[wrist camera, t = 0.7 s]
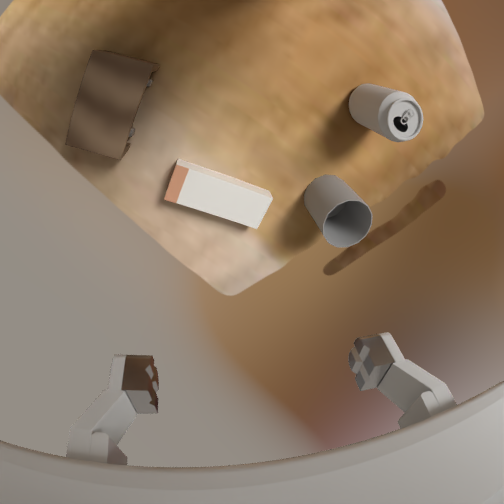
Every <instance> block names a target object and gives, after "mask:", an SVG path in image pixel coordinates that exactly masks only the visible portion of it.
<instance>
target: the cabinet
mask: <svg viewBox="0 0 504 504" xmlns="http://www.w3.org/2000/svg"><path fill="white" fill-rule="evenodd" d="M158 67H159V65H158V64H155V63H151V62H148V61H144V60H141V59H137V58H133V57H129V56H125V55H121V54H117V53H113V52H108V51H102V50H93V51H92V54H91V56H90V59H89V62H88V65H87V68H86V71H85V73H84V77H83V80H82V83H81V86H80V89H79V93H78V96H77V99H76V103H75V107H74V110H73V114H72V118H71V122H70V126H69V130H68V135H67V139H66V144H65V145H69V146H72V147H76V148H80V149H83V150H87V151H90V152H94V153H97V154H101V155H104V156H108V157H111V158H115V159H118V160H121V159H122V157H123V156H124V155H125V154H126V152H127V151H128V150H129V147H130V143H127V140H128V137H129V136H130V137H132V136H133V134H134V131H135V129H134V128H131V127H132V124H133V121H134V118H135V115H136V113H137V110H138V107H139V104H140V101H141V99H142V96H143V93H144V91H145V88H146V86H147V87H150V86H151V84H152V82H153V80H151V79H149V78H150V75H151V73H152V72H153V71H157V70H158Z"/></svg>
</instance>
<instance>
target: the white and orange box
mask: <svg viewBox="0 0 504 504" xmlns="http://www.w3.org/2000/svg"><path fill="white" fill-rule="evenodd" d="M164 200H167V201H170V202H174V203H178V204H181V205H184V206H187V207H191V208H194V209H197V210H200V211H203V212H206V213H209V214H212V215H216V216H219V217H222V218H225V219H228V220H231V221H234V222H237V223H240V224H243V225H246V226H249V227H252V228H255V229H257V228H258V226H259V224H260V222H261V220H262V219H263V217H264V215H265V213H266V211H267V209H268V207H269V205H270V203H271V201H272V200H273V197H272V195H271V193H270V191H268V190H265V189H263V188H260V187H258V186H255V185H252V184H250V183H247V182H244V181H241V180H239V179H236V178H233V177H230V176H228V175H225V174H222V173H219V172H216V171H213V170H211V169H208V168H205V167H202V166H199V165H196V164H193V163H190V162H187V161H184V160H181V159H178V160H177V163H176V165H175V168H174V171H173V173H172V176H171V179H170V182H169V184H168V187H167V190H166V194H165V198H164Z"/></svg>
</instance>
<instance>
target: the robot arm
mask: <svg viewBox="0 0 504 504" xmlns="http://www.w3.org/2000/svg"><path fill="white" fill-rule="evenodd" d="M354 345H355V347H354V348H353V349H352V350H351V351H350V353H349V365H350V368H351V370H352V371H353V372H354V373H356V377H355V380H356V382H357V385H358V387H359V389H360V391H363V390H367V389H371V388H376V387H377V388H378V390H379V391H381V392H382V393H383V394H384V395H385V396H386V397H388V398H389V399H390V400H391V401H392V402H393V403H394V404H396V405H397V406H398V407H399V408H400V409H401V410H403V411H404V412H405V413H404V414H403V416H402V417H401V418H400V419H399V421H398V424H399V426H400V429H398V430H395V431H392V432H390V433H387V434H384V435H381V436H377V437H374V438H371V439H368V440H365V441H361V442H357V443H354V444H350V445H346V446H343V447H339V448H335V449H330V450H326V451H322V452H317V453H312V454H308V455H302V456H298V457H292V458H286V459H280V460H273V461H266V462H258V463H250V464H240V465H228V466H213V467H182V468H181V467H175V468H174V467H172V468H171V467H143V466H128V465H127V456H126V455H125V454H124V453H123V452H122V451H121V450H120V449H119V448H118V446H117V444H118V443H119V441H120V440H121V438H122V437H123V435H124V434H125V433H126V431H127V429H128V428H129V426H130V425H131V424H132V422H133V421H134V419H135V417H136V416H137V413H140V414H141V413H143V414H148V413H151V414H153V413H158V398H157V394H156V392H157V391H158V389H159V382H158V381H159V380H158V372H157V368H156V367H155V366H154V359H153V356H149V355H148V356H147V355H114V357H113V359H112V365H111V371H110V377H109V384H108V390H104V391H103V392H102V393H101V394H100V395H99V396H98V397H97V398H96V399H95V401H94V402H93V403H92V404H91V405H90V406H89V407H88V408H87V409H86V411H85V412H84V413H83V414H82V415H81V416H80V417H79V418H78V420H77V421H76V422H75V423H74V424H73V425H72V426H71V427H70V432H69V440H68V446H67V454H66V457H63V456H58V455H53V454H48V453H44V452H39V451H35V450H31V449H28V448H24V447H20V446H17V445H13V444H10V443H7V442H4V441H1V440H0V504H504V381H502V382H500V383H498V384H496V385H495V386H493V387H491V388H489V389H487V390H486V391H484V392H482V393H480V394H478V395H476V396H475V397H472V398H470V399H468V400H466V401H464V402H462V403H461V404H458V405H457V404H456V402H455V400H454V398H453V396H452V394H451V393H450V391H449V389H448V387H447V385H446V384H445V383H444V382H442V381H441V380H439V379H437V378H436V377H434V376H433V375H431V374H430V373H428V372H427V371H425V370H424V369H422V368H420V367H419V366H417V365H416V364H414V363H413V362H411V361H410V360H408V359H407V360H405V359H404V357H403V355H402V353H401V352H400V350H399V348H398V346H397V345H396V343H395V341H394V339H393V338H392V336H391V334H390V333H388V332H386V333H382V334H374V335H370V336H364V337H359V338H357V339H356V340H355V342H354Z"/></svg>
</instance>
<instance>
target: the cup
mask: <svg viewBox="0 0 504 504" xmlns="http://www.w3.org/2000/svg"><path fill="white" fill-rule="evenodd" d="M304 205H305V207H306V208H307V210H308V211H309V213H310V215H311V216H312V218H313V219H314V221H315V222H316V224H317V226H318V227H319V229H320V230H321V232H322V234H323V235H324V237H325V238H326V240H327V241H328V243H329V244H331V245H333V246H336V247H349V246H351V245H354V244H356V243H358V242H359V241H360V240H362V239H363V238H364V237H365V236H366V235H367V233H368V231H369V229H370V227H371V225H372V213H371V211H370V209H369V206H368V205H367V204H366V203H365V202H364V201H363V200H362V199H361V198H360V197H359V196H358V195H357V194H356V193H355V192H354V191H353V190H352V189H351V188H350V187H349V186H348V185H347V184H346V183H345V182H344V181H343V180H342V179H340V178H338V177H337V176H335V175H323V176H320V177H318V178H315V179H314V180H313V181H312V182H311V183H310V184H309V185H308V186H307V189H306V191H305V194H304Z"/></svg>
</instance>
